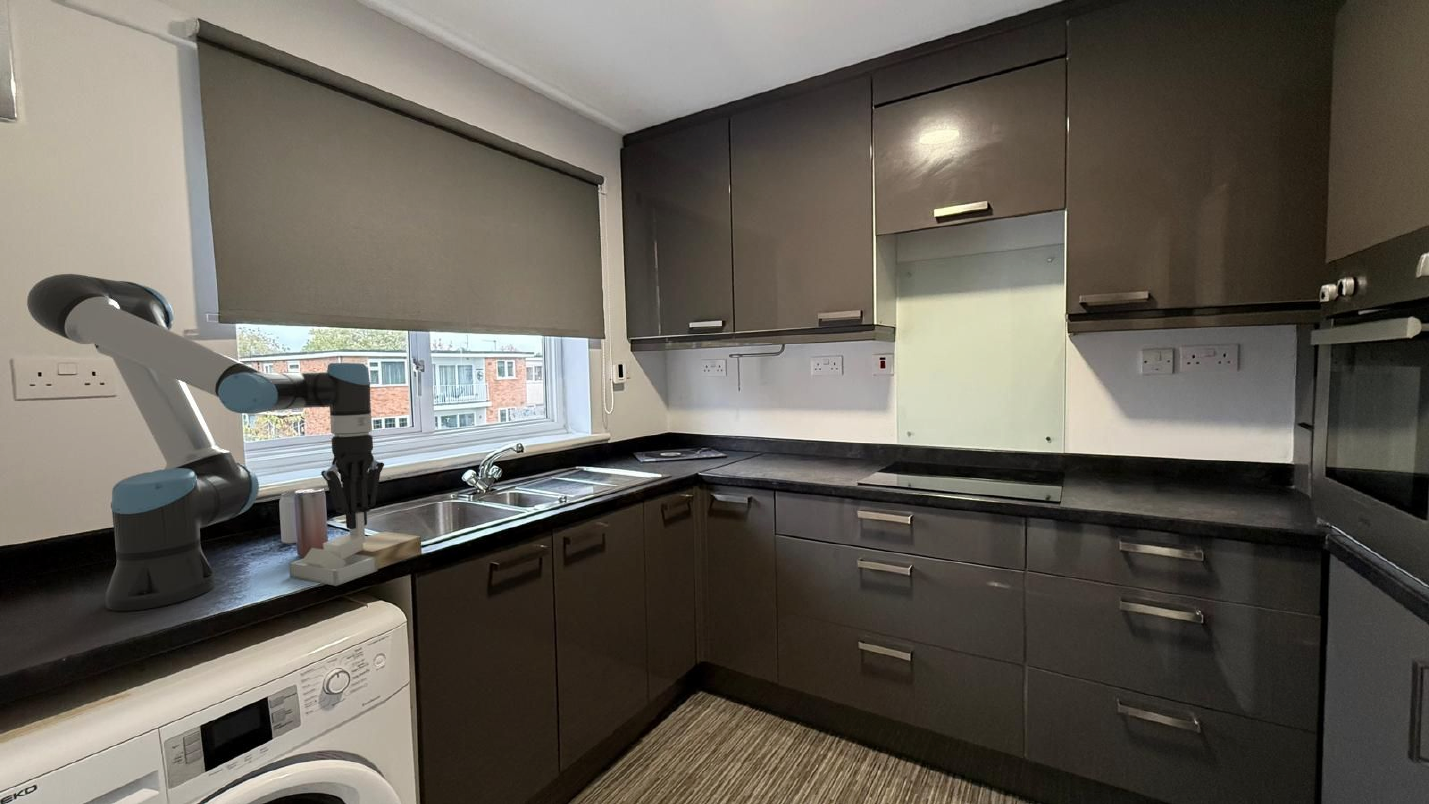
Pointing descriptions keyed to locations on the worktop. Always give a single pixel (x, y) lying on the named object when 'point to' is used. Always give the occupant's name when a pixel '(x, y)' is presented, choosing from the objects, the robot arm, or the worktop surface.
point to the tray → (350, 571)
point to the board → (391, 547)
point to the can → (287, 518)
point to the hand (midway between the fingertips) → (357, 542)
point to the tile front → (323, 559)
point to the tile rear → (344, 545)
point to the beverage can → (310, 520)
